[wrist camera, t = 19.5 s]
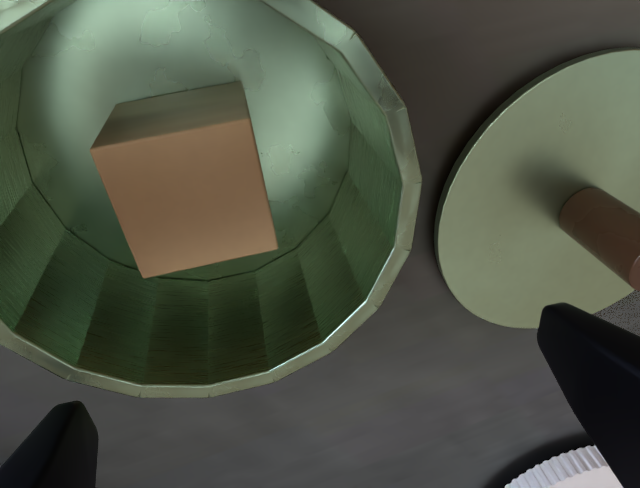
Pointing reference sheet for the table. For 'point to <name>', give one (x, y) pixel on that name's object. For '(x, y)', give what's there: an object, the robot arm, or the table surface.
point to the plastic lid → (570, 472)
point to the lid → (548, 196)
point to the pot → (278, 171)
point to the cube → (186, 179)
